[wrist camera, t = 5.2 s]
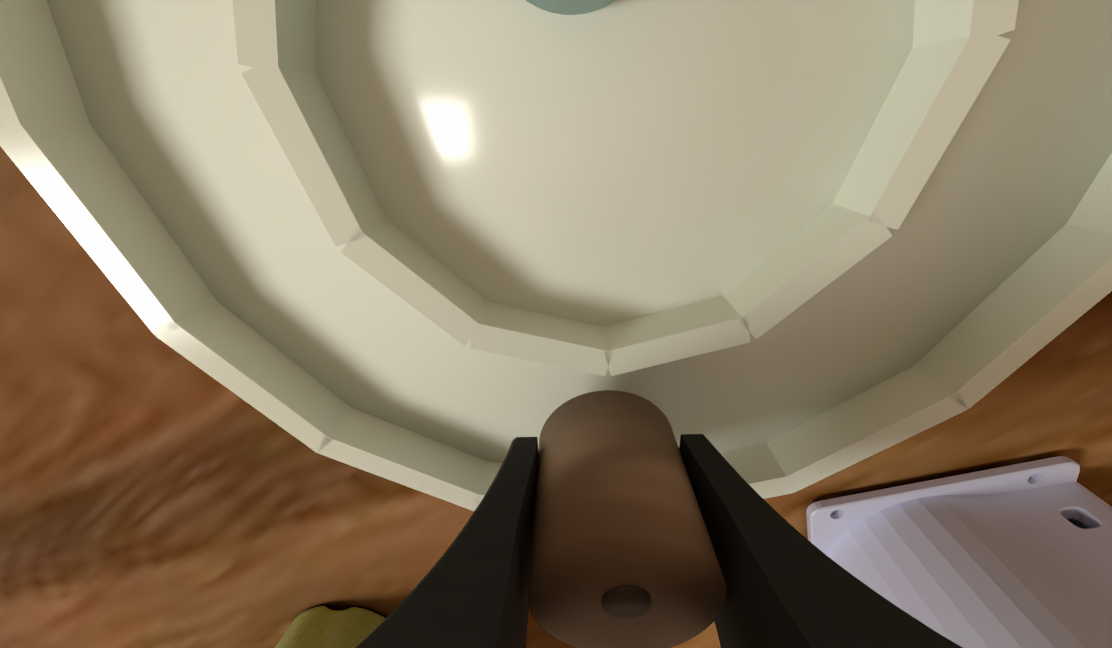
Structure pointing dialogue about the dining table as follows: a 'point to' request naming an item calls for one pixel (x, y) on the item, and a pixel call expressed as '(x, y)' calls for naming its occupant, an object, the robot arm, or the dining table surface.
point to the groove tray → (580, 209)
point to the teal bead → (570, 6)
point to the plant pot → (330, 628)
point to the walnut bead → (618, 530)
